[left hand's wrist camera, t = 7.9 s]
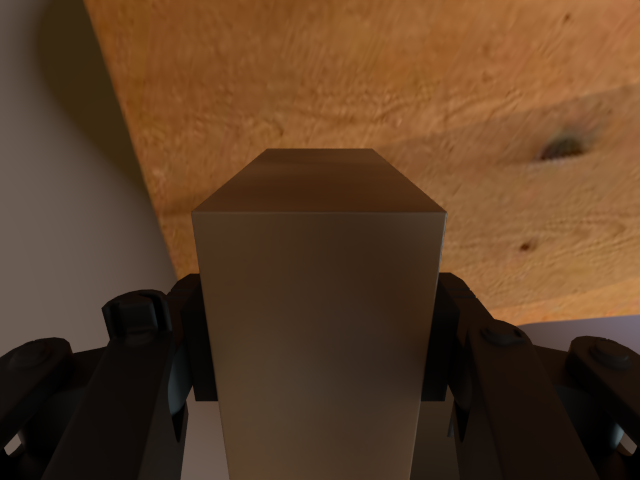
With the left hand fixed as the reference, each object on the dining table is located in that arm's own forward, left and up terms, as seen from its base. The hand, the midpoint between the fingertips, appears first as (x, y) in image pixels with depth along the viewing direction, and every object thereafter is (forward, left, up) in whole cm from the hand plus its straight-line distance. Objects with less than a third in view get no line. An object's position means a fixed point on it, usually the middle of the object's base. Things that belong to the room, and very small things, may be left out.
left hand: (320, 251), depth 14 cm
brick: (0, 0, -3) cm, 3 cm away
